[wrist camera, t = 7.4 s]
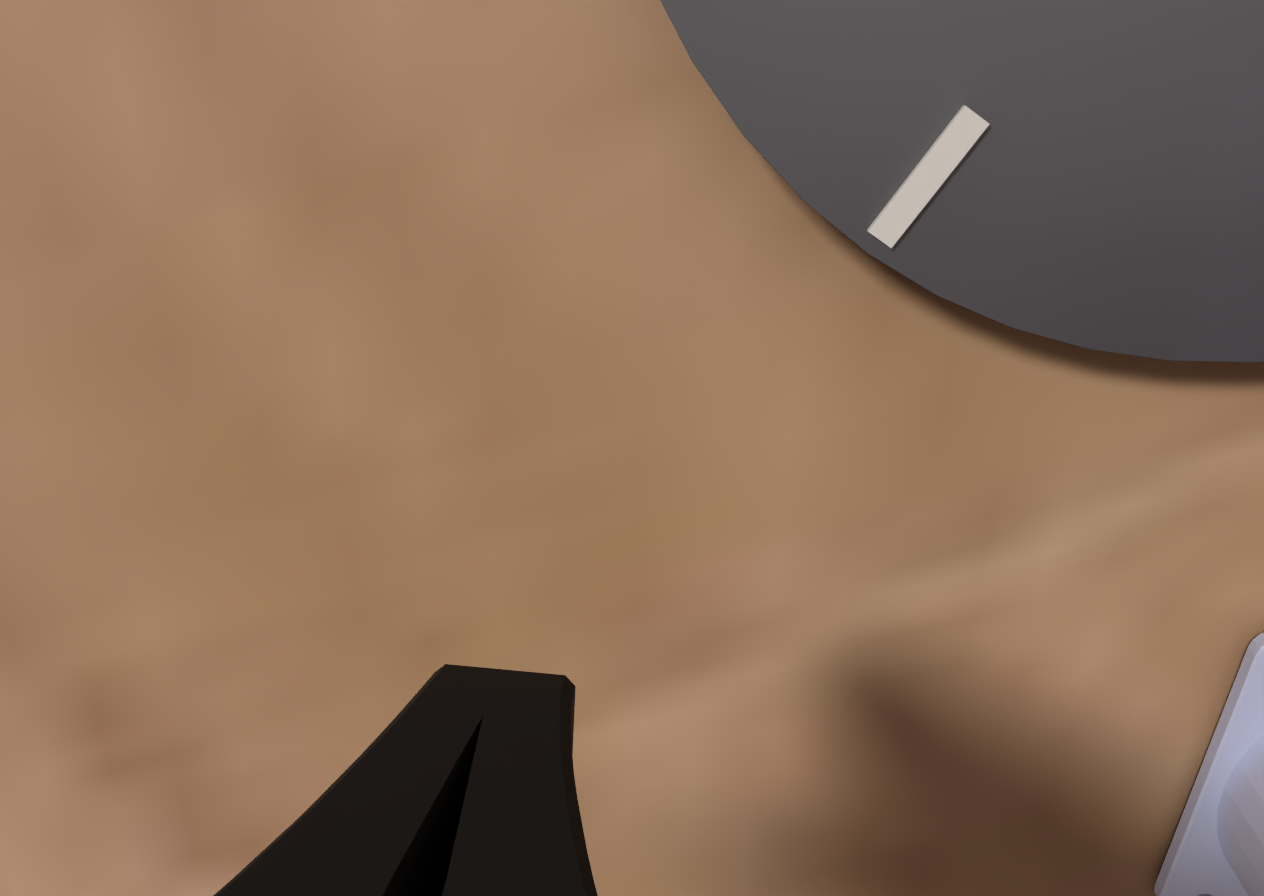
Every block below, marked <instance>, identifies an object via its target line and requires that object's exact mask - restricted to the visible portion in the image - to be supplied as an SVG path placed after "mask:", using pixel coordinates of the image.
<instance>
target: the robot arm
mask: <svg viewBox="0 0 1264 896" xmlns="http://www.w3.org/2000/svg"><path fill="white" fill-rule="evenodd" d="M574 705H575V685H574V684H573V683H572V682H571V681H570V680H569V679H568V678H567V677H566V676H565V675H555V674H544V673H534V672H523V671H512V670H502V669H491V668H480V667H469V666H459V665H448V664H445V665H444V666H443V667H441V668H440V669H439V670H437V671H436V672H435V673H434V674H433V675H432V676H431V678H430V679H429V680H428V681H427V682H426V683H425V685H424V686H423V687H422V688H421V689H420V690H419V691H418V693H417V694H416V695H415V696H414V697H413V698H412V700H411V701H410V702H409V703H408V704H407V705H406V706H405V708H404V709H403V710H402V711H401V712H400V713H399V714H398V715H397V716H396V718H395V719H394V720H393V721H392V722H391V723H390V724H389V725H388V726H387V728H386V729H385V730H384V731H383V732H382V733H381V734H380V735H379V736H378V737H377V738H376V739H375V741H374V742H373V743H372V744H371V745H370V746H369V747H368V748H367V749H366V750H365V751H364V752H363V753H362V755H361V756H360V757H359V758H358V759H357V760H356V761H355V762H354V763H353V764H352V765H351V766H350V767H349V768H348V769H347V770H346V771H345V772H344V773H343V774H342V775H341V776H340V777H339V778H338V779H337V780H336V781H335V782H334V783H333V784H332V785H331V786H330V787H329V788H328V789H327V790H326V791H325V792H324V793H323V794H322V795H321V796H320V797H319V798H318V799H317V800H316V801H315V802H314V803H313V804H312V805H311V806H310V807H309V808H308V809H307V810H306V811H305V812H304V813H303V814H302V815H301V816H300V817H299V818H298V819H297V820H296V821H295V822H294V823H293V824H292V825H291V826H290V827H288V828H287V829H286V830H285V831H284V832H283V833H282V834H281V835H280V836H279V837H278V838H277V839H275V840H274V841H273V842H272V843H271V844H270V845H269V846H268V847H267V848H266V849H265V850H263V851H262V852H261V853H260V854H259V855H258V856H257V857H256V858H255V859H254V860H253V861H252V862H250V863H249V864H248V865H247V866H246V867H245V868H244V869H243V870H242V871H241V872H240V873H239V874H237V875H236V876H235V877H234V878H233V879H232V880H231V881H230V882H229V883H227V884H226V885H225V886H224V887H223V888H222V889H221V890H219V891H218V892H217V893H216V894H215V895H214V896H597V892H596V888H595V884H594V880H593V876H592V871H591V867H590V862H589V858H588V854H587V849H586V843H585V838H584V833H583V827H582V822H581V816H580V811H579V805H578V800H577V794H576V786H575V779H574V771H573V759H572V750H573V727H574ZM1154 892H1155V894H1156V896H1264V632H1263V633H1261V634H1259V635H1258V636H1257V637H1255V638H1254V639H1253V640H1252V641H1251V643H1250V644H1249V646H1248V648H1247V651H1246V653H1245V656H1244V658H1243V661H1242V663H1241V666H1240V668H1239V671H1238V674H1237V676H1236V679H1235V681H1234V684H1233V686H1232V689H1231V691H1230V694H1229V697H1228V699H1227V702H1226V704H1225V707H1224V709H1223V712H1222V714H1221V717H1220V720H1219V722H1218V725H1217V727H1216V730H1215V732H1214V735H1213V737H1212V740H1211V743H1210V745H1209V748H1208V750H1207V753H1206V755H1205V758H1204V760H1203V763H1202V765H1201V768H1200V771H1199V773H1198V776H1197V778H1196V781H1195V783H1194V786H1193V788H1192V791H1191V794H1190V796H1189V799H1188V801H1187V804H1186V806H1185V809H1184V811H1183V814H1182V817H1181V819H1180V822H1179V824H1178V827H1177V829H1176V832H1175V834H1174V837H1173V840H1172V842H1171V845H1170V847H1169V850H1168V852H1167V855H1166V857H1165V860H1164V863H1163V865H1162V868H1161V870H1160V873H1159V875H1158V878H1157V880H1156V883H1155V886H1154Z"/></svg>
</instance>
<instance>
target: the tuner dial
mask: <svg viewBox="0 0 1264 896" xmlns="http://www.w3.org/2000/svg"><path fill="white" fill-rule="evenodd" d="M661 2H662V4H663V6H664V8H665V10H666V12H667V14H668V16H669V18H670V20H671V22H672V24H673V25H674V27H675V29H676V31H677V33H678V35H679V37H680V39H681V41H682V43H683V45H684V47H685V49H686V51H687V52H688V54H689V56H690V58H691V60H692V62H693V63H694V65H695V66H696V68H697V69H698V71H699V72H700V73H701V75H702V76H703V78H704V79H705V81H706V82H707V83H708V85H709V86H710V88H711V89H712V91H713V92H714V94H715V95H716V96H717V98H718V99H719V101H720V102H721V104H722V105H723V106H724V108H725V109H726V111H727V112H728V114H729V115H730V116H731V118H732V119H733V121H734V122H735V124H736V125H737V127H738V128H739V129H740V131H741V132H742V134H743V135H744V137H745V138H746V139H747V140H748V141H749V142H750V143H751V144H752V145H753V146H754V147H755V149H756V150H757V151H758V152H759V153H760V154H761V155H762V156H763V157H764V158H765V159H766V160H767V162H768V163H769V164H770V165H771V166H772V167H773V168H774V169H775V170H776V171H777V172H778V174H779V175H780V176H781V177H782V178H783V179H784V180H785V181H786V182H787V183H788V184H789V185H790V187H791V188H792V189H793V190H794V191H795V192H796V193H797V194H798V195H799V196H800V197H801V199H802V200H803V201H805V202H806V203H807V204H808V205H809V206H811V207H812V208H813V209H814V210H816V211H817V212H818V213H819V214H820V215H822V216H823V217H824V218H825V219H827V220H828V221H829V222H830V223H831V224H833V225H834V226H835V227H836V228H837V229H839V230H840V231H841V232H842V233H844V234H845V235H846V236H847V237H848V238H850V239H851V240H852V241H853V242H854V243H856V244H857V245H858V246H859V247H861V248H862V249H863V250H864V251H865V252H867V253H868V254H870V255H871V256H873V257H875V258H876V259H878V260H880V261H881V262H883V263H884V264H886V265H888V266H889V267H891V268H893V269H894V270H896V271H898V272H899V273H901V274H902V275H904V276H906V277H907V278H909V279H911V280H912V281H914V282H916V283H917V284H919V285H921V286H922V287H924V288H925V289H927V290H929V291H930V292H932V293H934V294H935V295H937V296H939V297H942V298H944V299H946V300H949V301H951V302H953V303H956V304H958V305H960V306H963V307H965V308H967V309H969V310H972V311H974V312H976V313H979V314H981V315H983V316H986V317H988V318H990V319H993V320H995V321H997V322H1000V323H1002V324H1004V325H1006V326H1009V327H1011V328H1015V329H1019V330H1022V331H1026V332H1029V333H1033V334H1037V335H1040V336H1044V337H1047V338H1051V339H1054V340H1058V341H1062V342H1065V343H1069V344H1072V345H1076V346H1080V347H1083V348H1087V349H1092V350H1099V351H1106V352H1113V353H1120V354H1127V355H1134V356H1141V357H1148V358H1155V359H1162V360H1169V361H1215V362H1264V0H661Z"/></svg>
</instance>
